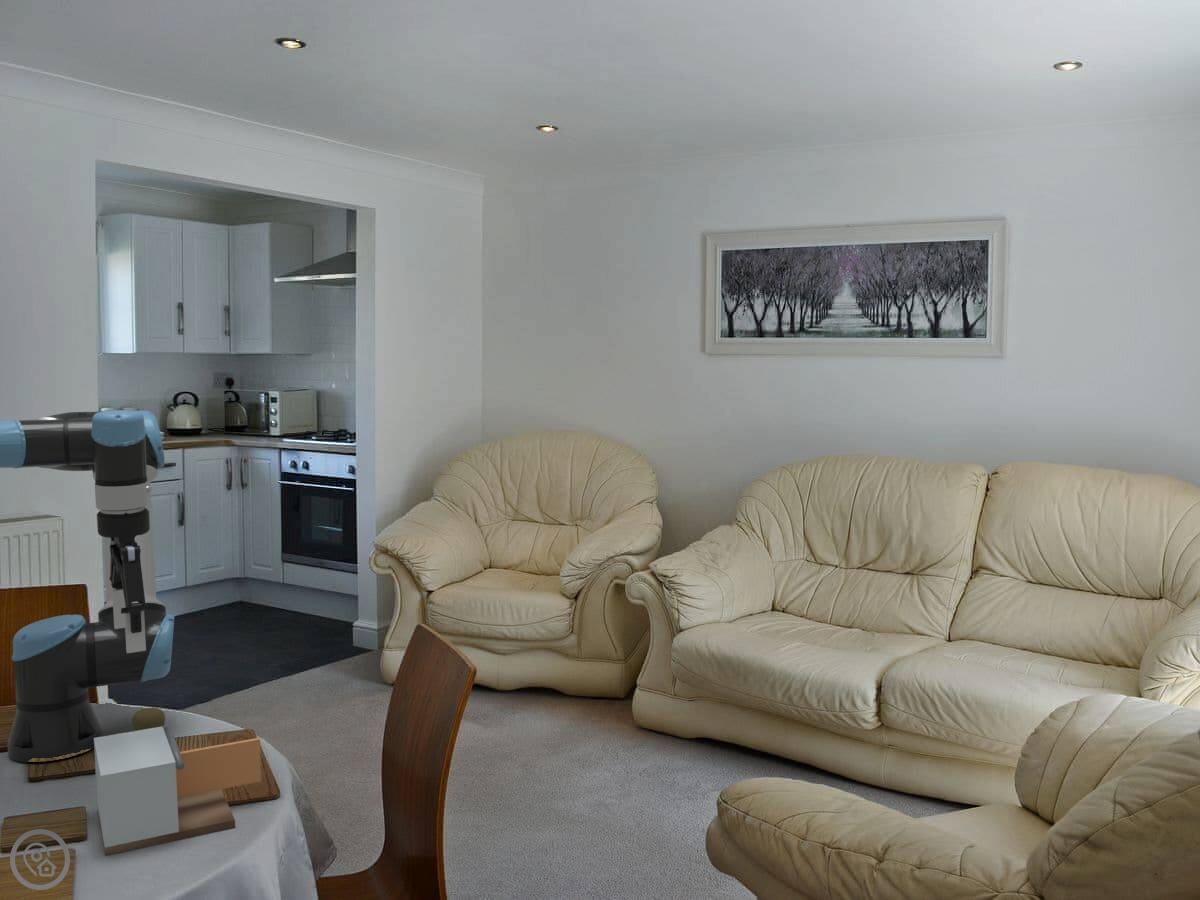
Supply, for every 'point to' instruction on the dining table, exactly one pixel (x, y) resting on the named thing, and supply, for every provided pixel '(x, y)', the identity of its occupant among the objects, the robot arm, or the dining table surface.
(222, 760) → the orange rectangular panel
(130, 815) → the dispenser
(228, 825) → the walnut board
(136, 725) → the olive brown ellipsoid
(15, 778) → the dining table surface
